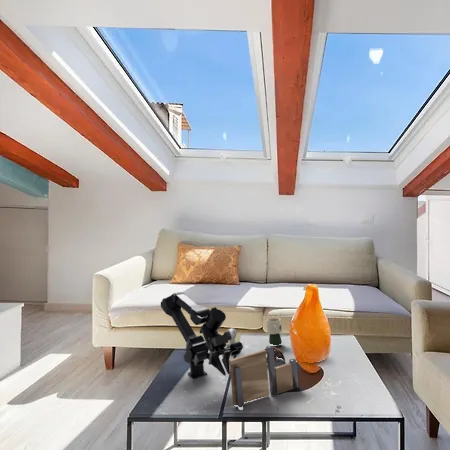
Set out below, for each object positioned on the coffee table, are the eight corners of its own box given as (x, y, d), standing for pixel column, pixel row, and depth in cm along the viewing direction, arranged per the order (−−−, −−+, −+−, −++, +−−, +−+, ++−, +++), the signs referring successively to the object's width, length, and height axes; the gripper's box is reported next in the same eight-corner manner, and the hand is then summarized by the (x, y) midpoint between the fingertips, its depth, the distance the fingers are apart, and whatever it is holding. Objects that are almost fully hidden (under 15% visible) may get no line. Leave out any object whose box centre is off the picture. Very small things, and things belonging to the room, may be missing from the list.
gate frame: (233, 406, 129) (229, 356, 129) (295, 385, 141) (291, 339, 141) (240, 411, 125) (235, 359, 125) (303, 389, 137) (299, 342, 137)
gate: (232, 406, 128) (228, 359, 128) (267, 393, 135) (263, 349, 135) (235, 408, 126) (231, 361, 126) (270, 395, 134) (266, 350, 134)
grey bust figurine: (239, 348, 188) (237, 326, 188) (238, 354, 180) (236, 330, 180) (227, 349, 188) (225, 327, 188) (226, 355, 180) (224, 331, 180)
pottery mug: (290, 366, 161) (281, 352, 159) (271, 377, 161) (262, 363, 159) (281, 350, 173) (273, 336, 170) (263, 361, 173) (255, 347, 170)
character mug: (284, 349, 181) (282, 321, 181) (269, 350, 181) (267, 323, 181) (281, 341, 192) (279, 316, 192) (267, 343, 192) (265, 317, 192)
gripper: (193, 331, 139) (208, 371, 129) (238, 320, 147) (255, 357, 137) (187, 346, 146) (201, 385, 136) (231, 335, 154) (247, 371, 144)
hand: (227, 374), depth 138 cm, fingers closed
